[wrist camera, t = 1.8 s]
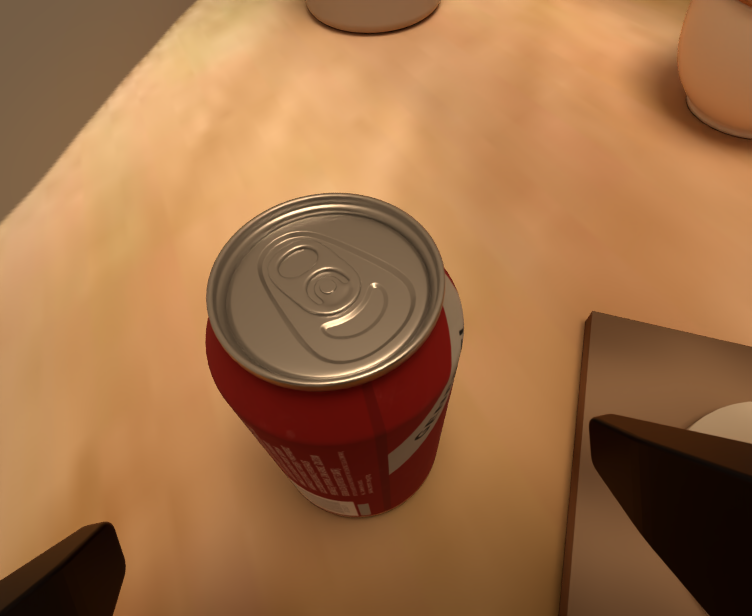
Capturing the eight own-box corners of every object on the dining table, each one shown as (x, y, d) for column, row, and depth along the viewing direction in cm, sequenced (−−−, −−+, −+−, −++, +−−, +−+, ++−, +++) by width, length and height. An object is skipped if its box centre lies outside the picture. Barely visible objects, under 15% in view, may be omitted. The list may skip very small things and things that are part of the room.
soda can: (359, 559, 18) (312, 494, 8) (254, 440, 21) (121, 282, 11) (467, 435, 21) (534, 268, 11) (361, 344, 23) (333, 142, 13)
